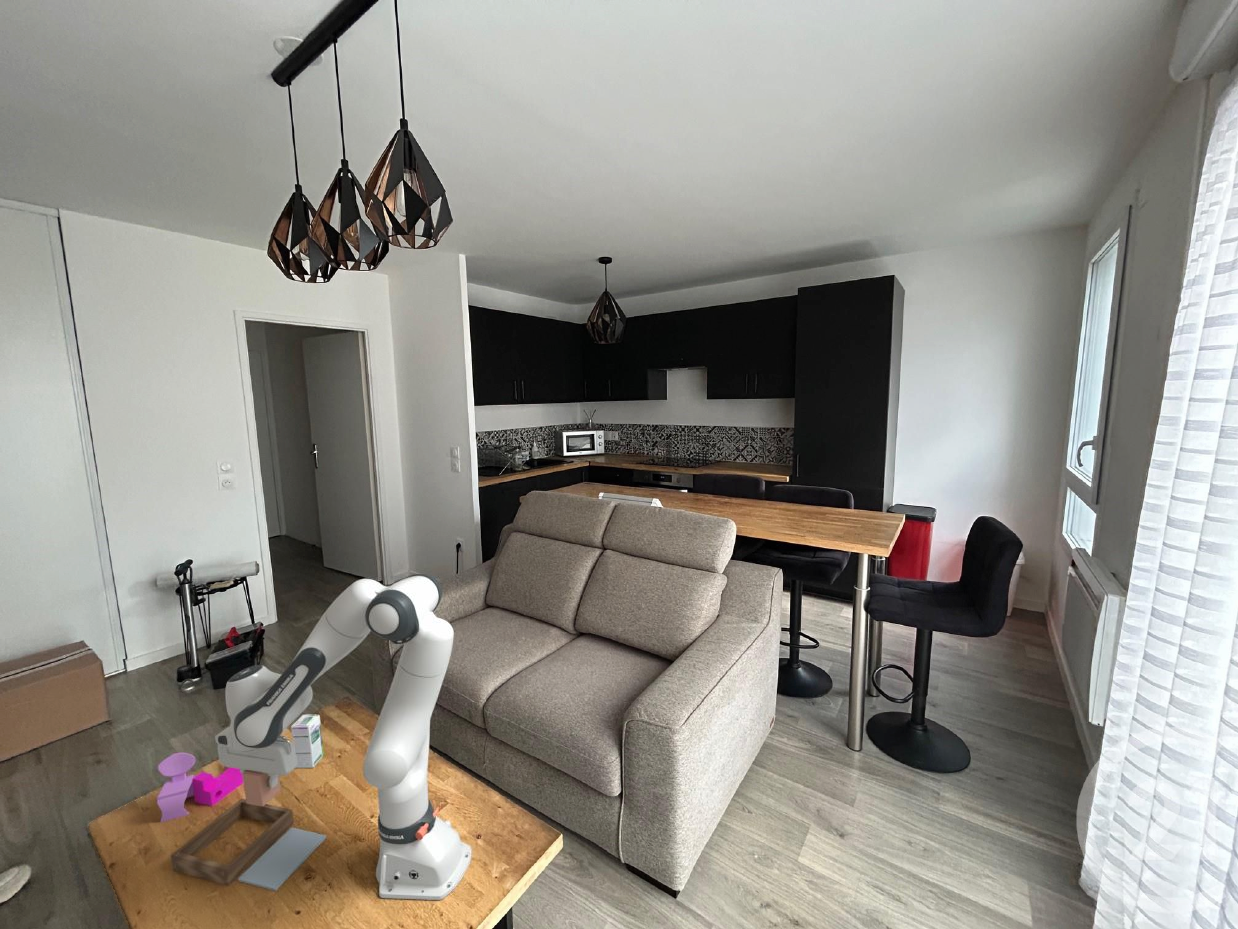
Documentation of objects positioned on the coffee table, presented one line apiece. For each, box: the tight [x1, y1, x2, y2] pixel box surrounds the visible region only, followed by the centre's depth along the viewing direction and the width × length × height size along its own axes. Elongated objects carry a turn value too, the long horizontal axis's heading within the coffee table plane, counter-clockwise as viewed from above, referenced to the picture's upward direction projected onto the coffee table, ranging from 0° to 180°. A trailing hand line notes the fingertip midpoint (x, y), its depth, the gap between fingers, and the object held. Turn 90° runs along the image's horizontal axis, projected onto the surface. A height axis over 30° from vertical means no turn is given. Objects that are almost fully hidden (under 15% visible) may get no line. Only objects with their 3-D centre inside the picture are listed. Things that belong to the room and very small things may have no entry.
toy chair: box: [156, 752, 196, 823], centre depth 142 cm, size 8×9×15 cm
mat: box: [237, 827, 327, 892], centre depth 127 cm, size 11×15×1 cm
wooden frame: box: [170, 798, 294, 887], centre depth 130 cm, size 17×18×4 cm
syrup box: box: [290, 713, 325, 769], centre depth 160 cm, size 6×6×14 cm
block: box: [242, 770, 282, 806], centre depth 125 cm, size 5×5×8 cm
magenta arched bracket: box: [192, 767, 244, 807], centre depth 151 cm, size 15×6×8 cm, turn 166°
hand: (262, 784), depth 125 cm, fingers closed on block, 5 cm apart
